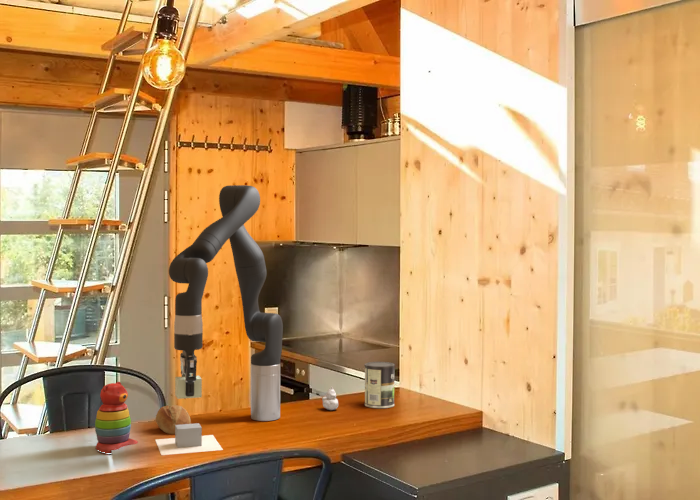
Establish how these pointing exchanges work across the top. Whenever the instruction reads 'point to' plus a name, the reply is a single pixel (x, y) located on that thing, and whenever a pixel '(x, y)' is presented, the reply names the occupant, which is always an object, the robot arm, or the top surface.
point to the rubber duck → (330, 400)
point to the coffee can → (379, 384)
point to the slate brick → (188, 435)
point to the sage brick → (181, 388)
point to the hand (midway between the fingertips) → (188, 393)
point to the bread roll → (171, 418)
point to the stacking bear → (113, 419)
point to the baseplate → (170, 447)
